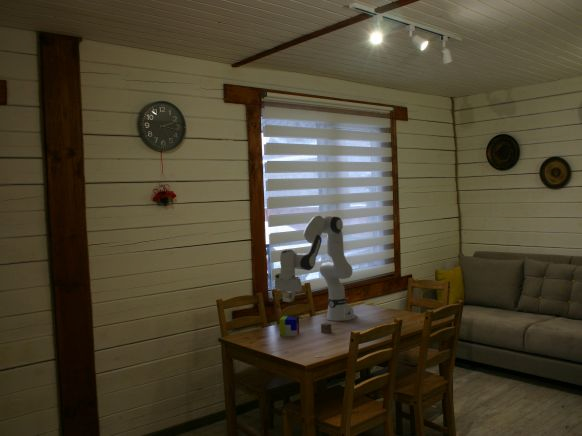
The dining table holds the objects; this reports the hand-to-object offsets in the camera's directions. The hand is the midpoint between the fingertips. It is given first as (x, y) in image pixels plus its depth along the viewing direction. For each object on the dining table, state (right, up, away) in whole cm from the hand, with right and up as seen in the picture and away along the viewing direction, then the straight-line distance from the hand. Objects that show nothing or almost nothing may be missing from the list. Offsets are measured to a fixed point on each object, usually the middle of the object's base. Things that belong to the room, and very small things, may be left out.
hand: (288, 298), depth 319 cm
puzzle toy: (+1, -22, 0) cm, 22 cm away
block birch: (0, -2, 0) cm, 2 cm away
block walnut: (+23, -21, +2) cm, 32 cm away
